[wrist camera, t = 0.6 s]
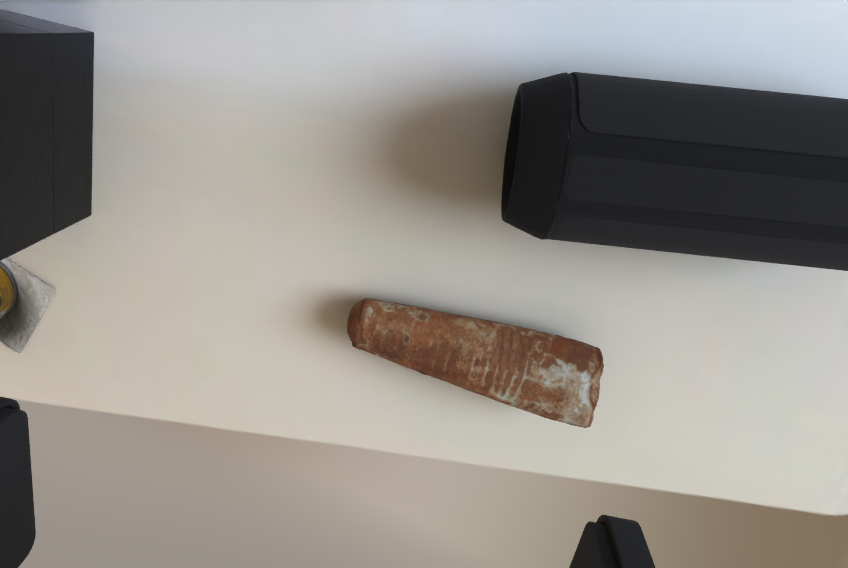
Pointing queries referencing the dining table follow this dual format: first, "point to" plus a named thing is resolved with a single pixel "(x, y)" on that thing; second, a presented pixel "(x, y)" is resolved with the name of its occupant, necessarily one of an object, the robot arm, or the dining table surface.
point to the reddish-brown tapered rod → (485, 357)
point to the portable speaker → (680, 169)
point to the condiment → (20, 304)
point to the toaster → (43, 129)
